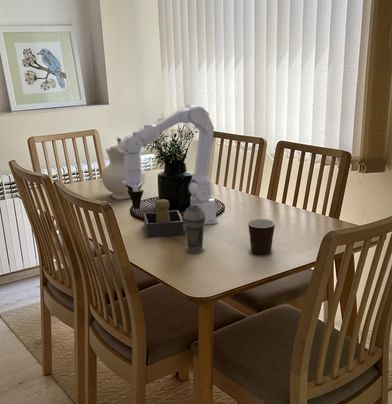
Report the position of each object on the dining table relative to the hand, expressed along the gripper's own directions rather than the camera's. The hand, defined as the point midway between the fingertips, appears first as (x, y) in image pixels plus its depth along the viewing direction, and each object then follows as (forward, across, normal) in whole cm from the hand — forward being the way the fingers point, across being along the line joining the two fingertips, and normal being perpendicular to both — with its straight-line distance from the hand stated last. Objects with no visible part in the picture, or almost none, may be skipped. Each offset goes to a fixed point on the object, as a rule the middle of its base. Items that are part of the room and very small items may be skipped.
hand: (135, 205), depth 201 cm
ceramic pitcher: (+10, -48, -2) cm, 49 cm away
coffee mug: (+10, +31, +39) cm, 51 cm away
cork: (+9, +3, +9) cm, 13 cm away
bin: (+9, +3, +10) cm, 14 cm away
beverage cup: (+10, +26, +17) cm, 33 cm away
